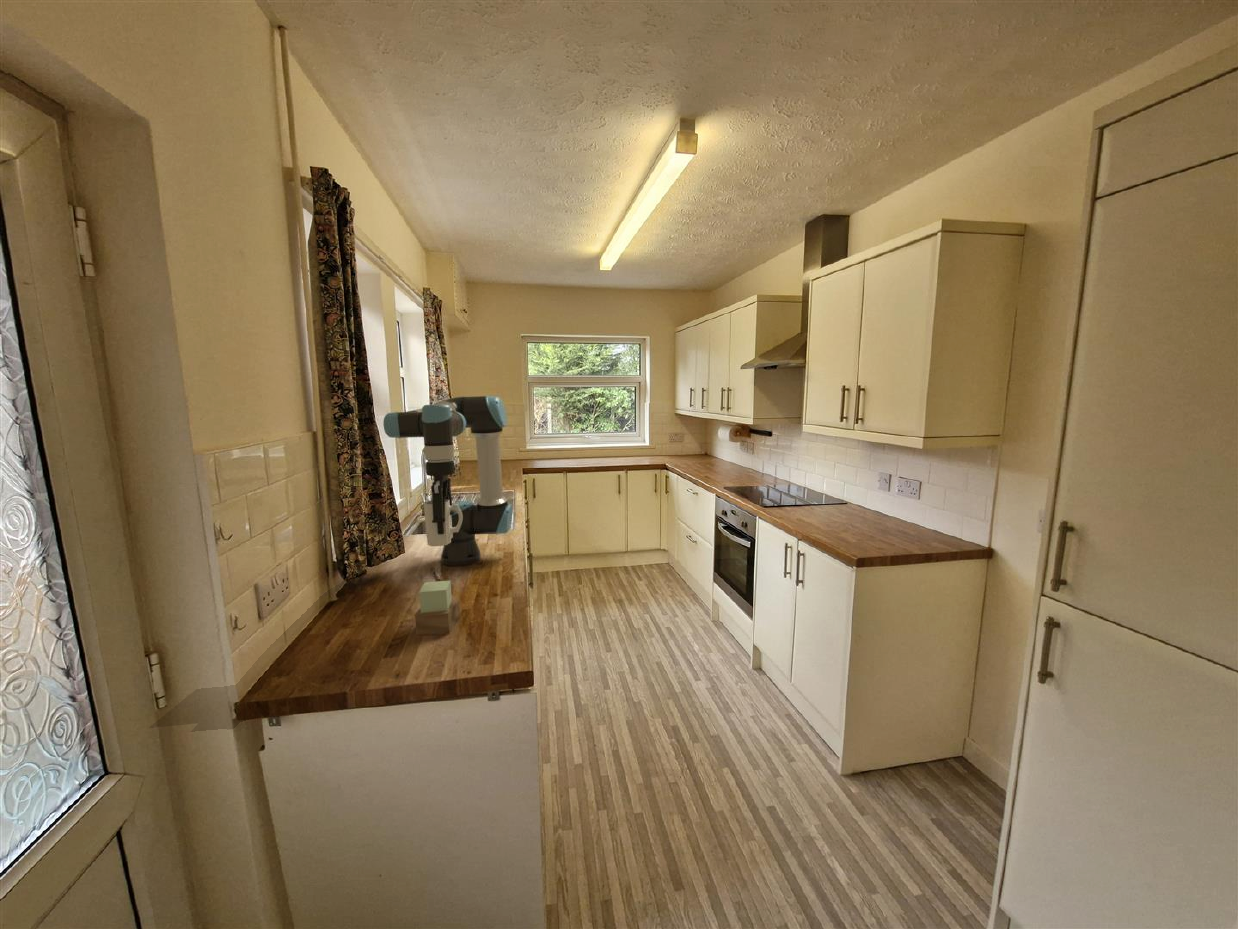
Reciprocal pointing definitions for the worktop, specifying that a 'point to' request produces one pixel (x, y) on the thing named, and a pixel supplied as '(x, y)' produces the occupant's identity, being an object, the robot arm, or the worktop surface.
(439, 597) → the sage brick
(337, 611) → the worktop surface
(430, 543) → the mug
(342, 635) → the worktop surface
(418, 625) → the base brick
